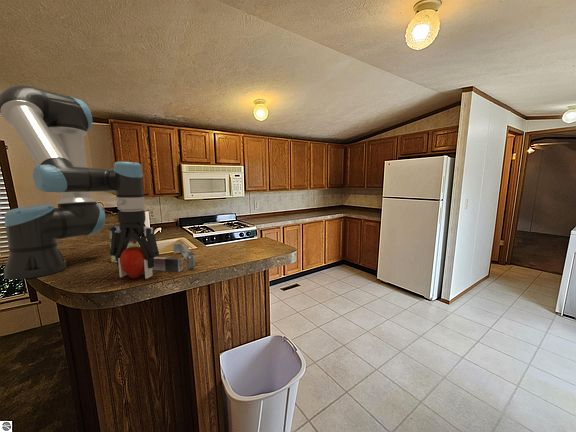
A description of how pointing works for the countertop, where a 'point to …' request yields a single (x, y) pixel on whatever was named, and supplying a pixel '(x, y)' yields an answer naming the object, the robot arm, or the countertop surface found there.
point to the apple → (132, 261)
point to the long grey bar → (172, 264)
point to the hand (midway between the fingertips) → (136, 276)
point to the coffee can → (131, 243)
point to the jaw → (183, 250)
